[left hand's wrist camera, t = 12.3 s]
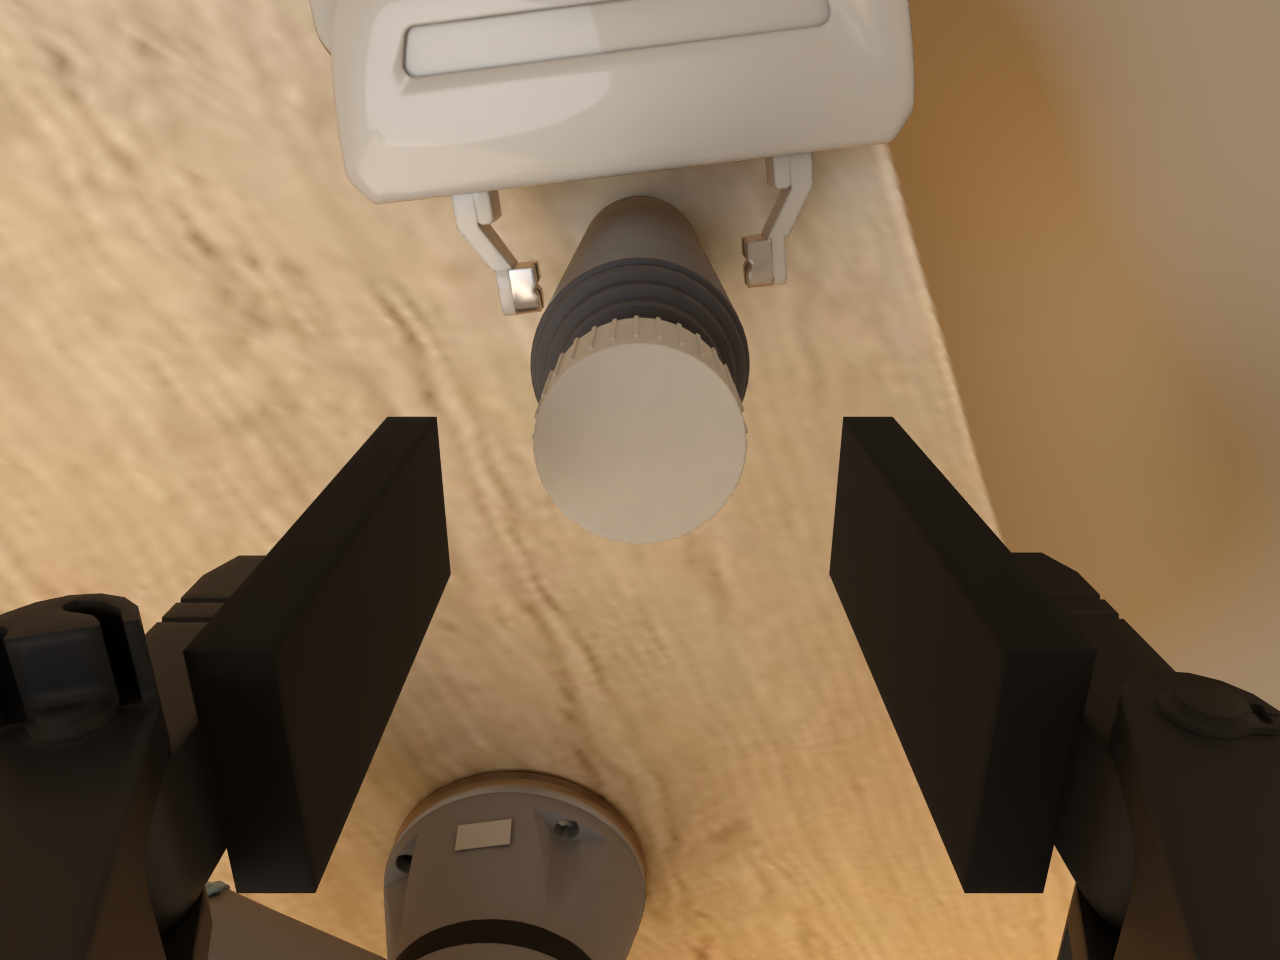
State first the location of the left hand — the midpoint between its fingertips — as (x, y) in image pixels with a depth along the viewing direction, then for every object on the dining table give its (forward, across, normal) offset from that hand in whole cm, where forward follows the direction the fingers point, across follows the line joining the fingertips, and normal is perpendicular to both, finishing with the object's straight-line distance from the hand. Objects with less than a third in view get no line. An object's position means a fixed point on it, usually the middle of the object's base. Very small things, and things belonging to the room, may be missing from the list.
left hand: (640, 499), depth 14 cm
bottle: (+28, 0, 0) cm, 28 cm away
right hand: (+22, 0, -1) cm, 22 cm away
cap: (+3, 0, 0) cm, 3 cm away
